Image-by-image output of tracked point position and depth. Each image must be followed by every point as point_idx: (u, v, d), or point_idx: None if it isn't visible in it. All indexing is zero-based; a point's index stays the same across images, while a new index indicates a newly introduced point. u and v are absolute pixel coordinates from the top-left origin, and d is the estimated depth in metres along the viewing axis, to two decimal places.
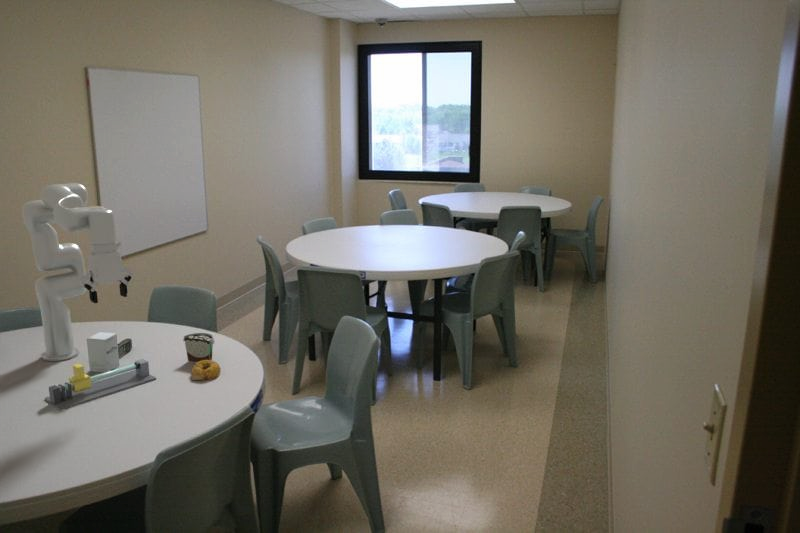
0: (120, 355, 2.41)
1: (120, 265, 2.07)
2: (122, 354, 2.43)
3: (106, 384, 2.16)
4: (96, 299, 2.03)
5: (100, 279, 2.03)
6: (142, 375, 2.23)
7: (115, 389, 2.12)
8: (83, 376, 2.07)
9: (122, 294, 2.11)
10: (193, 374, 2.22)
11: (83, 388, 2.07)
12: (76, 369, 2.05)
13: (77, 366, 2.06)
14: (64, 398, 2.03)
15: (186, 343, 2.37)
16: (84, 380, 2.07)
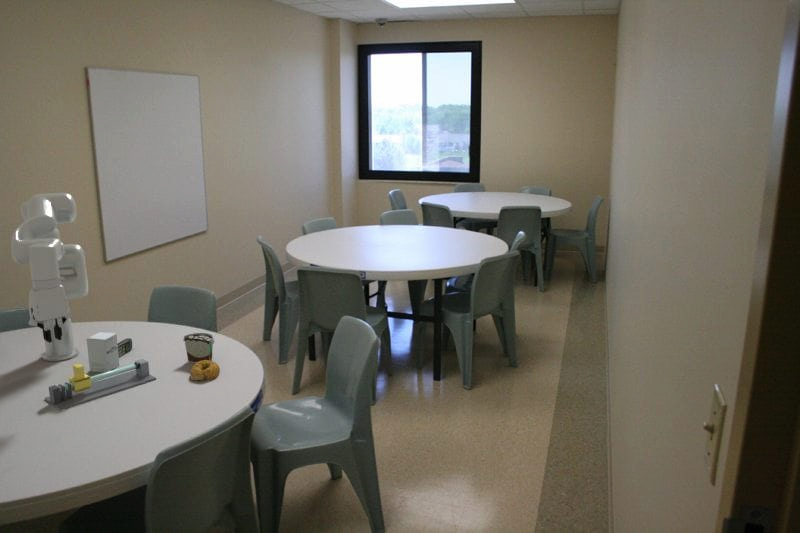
0: (119, 355, 2.41)
1: (64, 301, 1.98)
2: (121, 354, 2.43)
3: (106, 384, 2.16)
4: (50, 338, 1.97)
5: (41, 316, 1.93)
6: (142, 375, 2.23)
7: (115, 389, 2.12)
8: (83, 376, 2.07)
9: (56, 337, 2.00)
10: (192, 374, 2.22)
11: (83, 388, 2.07)
12: (76, 369, 2.05)
13: (77, 366, 2.06)
14: (64, 398, 2.03)
15: (186, 343, 2.37)
16: (84, 380, 2.07)
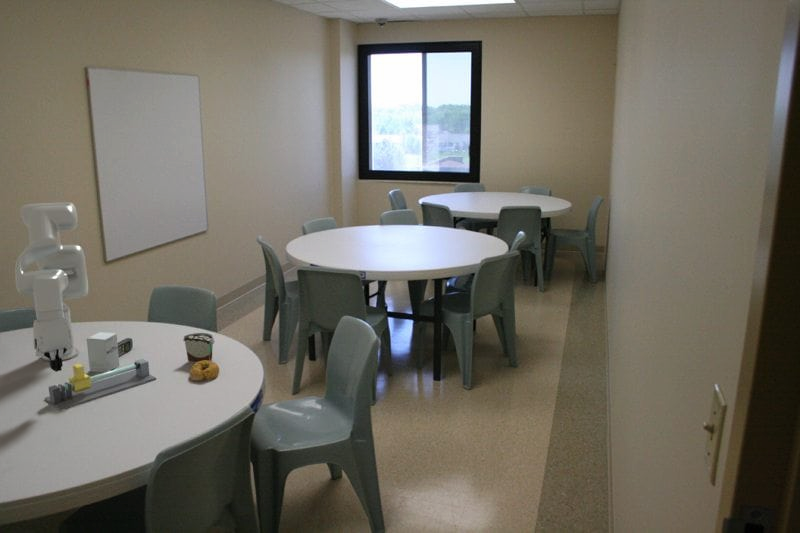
0: None
1: (67, 331, 2.00)
2: (120, 354, 2.43)
3: (106, 384, 2.16)
4: (57, 367, 1.99)
5: (45, 347, 1.95)
6: (142, 375, 2.23)
7: (115, 389, 2.12)
8: (83, 376, 2.07)
9: None
10: (192, 375, 2.21)
11: (83, 388, 2.07)
12: (76, 369, 2.05)
13: (77, 366, 2.06)
14: (64, 398, 2.03)
15: (186, 343, 2.37)
16: (84, 380, 2.07)
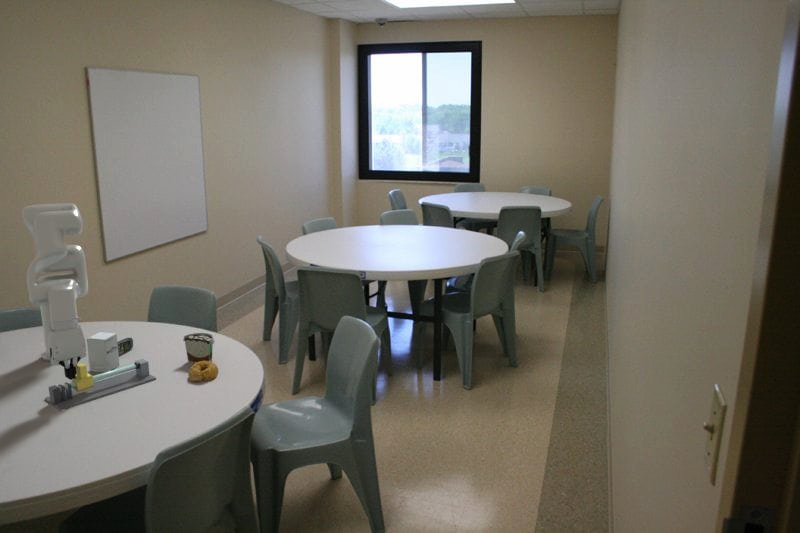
0: None
1: (81, 340, 2.04)
2: (119, 353, 2.44)
3: (106, 384, 2.16)
4: (71, 375, 2.04)
5: (60, 356, 2.00)
6: (142, 375, 2.23)
7: (115, 389, 2.12)
8: (86, 375, 2.07)
9: None
10: (191, 375, 2.21)
11: (86, 387, 2.08)
12: (79, 368, 2.06)
13: (80, 365, 2.07)
14: (64, 398, 2.03)
15: (186, 343, 2.37)
16: (87, 379, 2.08)
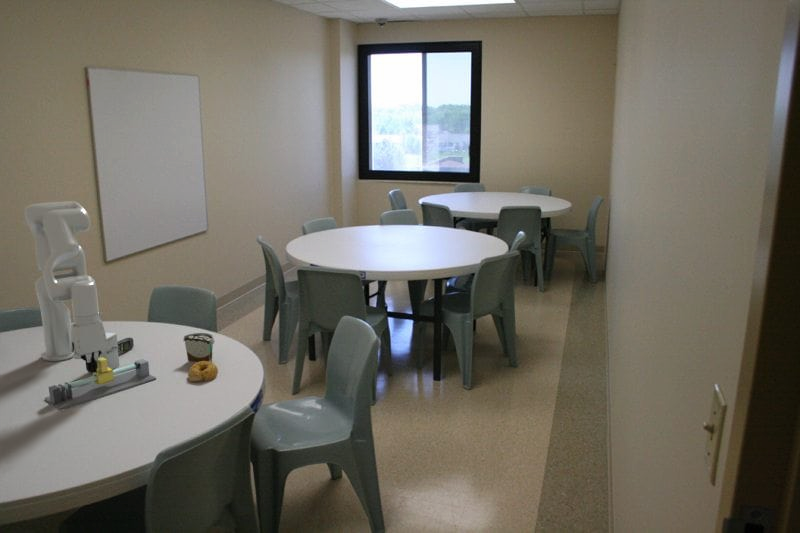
0: None
1: (102, 335, 2.09)
2: (118, 353, 2.44)
3: (106, 384, 2.16)
4: (92, 369, 2.09)
5: (82, 350, 2.05)
6: (142, 375, 2.23)
7: (115, 389, 2.12)
8: (106, 369, 2.13)
9: None
10: (190, 375, 2.21)
11: (106, 381, 2.13)
12: (100, 362, 2.11)
13: (101, 359, 2.12)
14: (64, 398, 2.03)
15: (186, 343, 2.37)
16: (107, 373, 2.13)
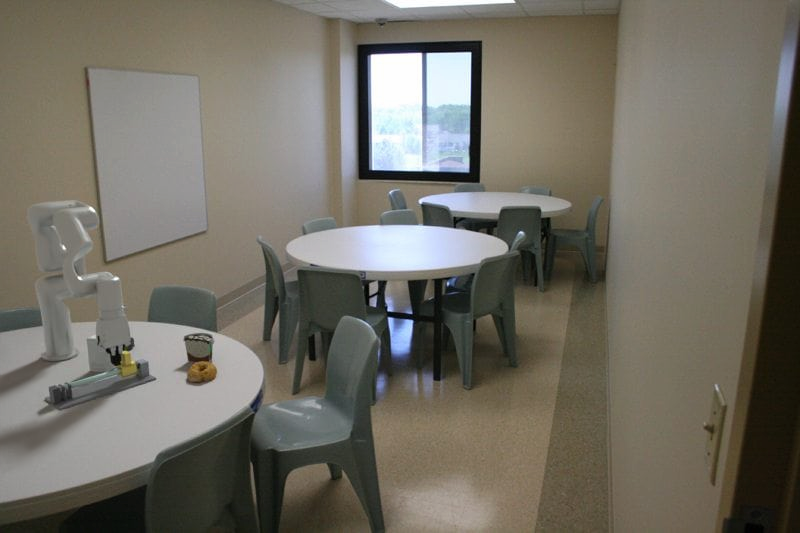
0: None
1: (126, 329, 2.15)
2: None
3: (106, 384, 2.16)
4: (116, 362, 2.15)
5: (107, 343, 2.11)
6: (142, 375, 2.23)
7: (115, 389, 2.12)
8: (130, 362, 2.19)
9: None
10: (190, 376, 2.20)
11: (130, 374, 2.19)
12: (123, 355, 2.17)
13: (124, 353, 2.18)
14: (64, 398, 2.03)
15: (186, 343, 2.37)
16: (131, 366, 2.19)
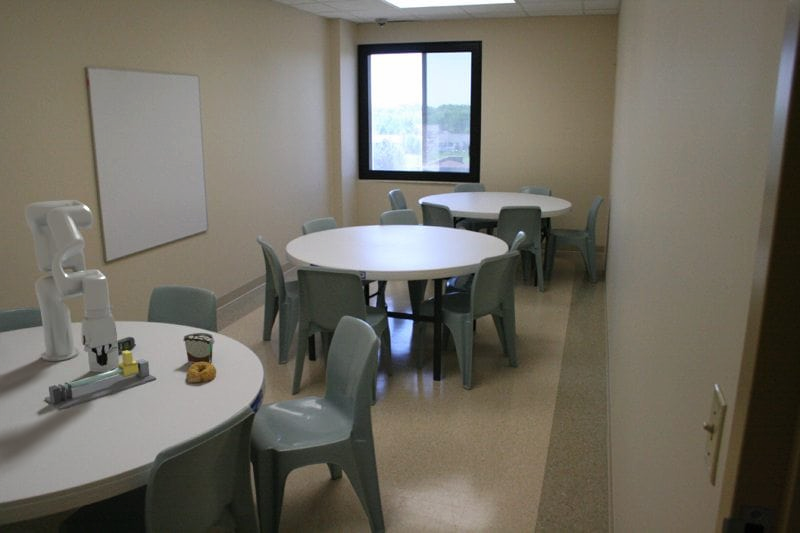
0: None
1: (113, 328, 2.12)
2: None
3: (106, 384, 2.16)
4: (103, 362, 2.12)
5: (93, 343, 2.08)
6: (142, 375, 2.23)
7: (115, 389, 2.12)
8: (131, 362, 2.19)
9: None
10: (189, 376, 2.20)
11: (131, 373, 2.19)
12: (125, 355, 2.18)
13: (126, 352, 2.18)
14: (64, 398, 2.03)
15: (186, 343, 2.37)
16: (132, 366, 2.19)
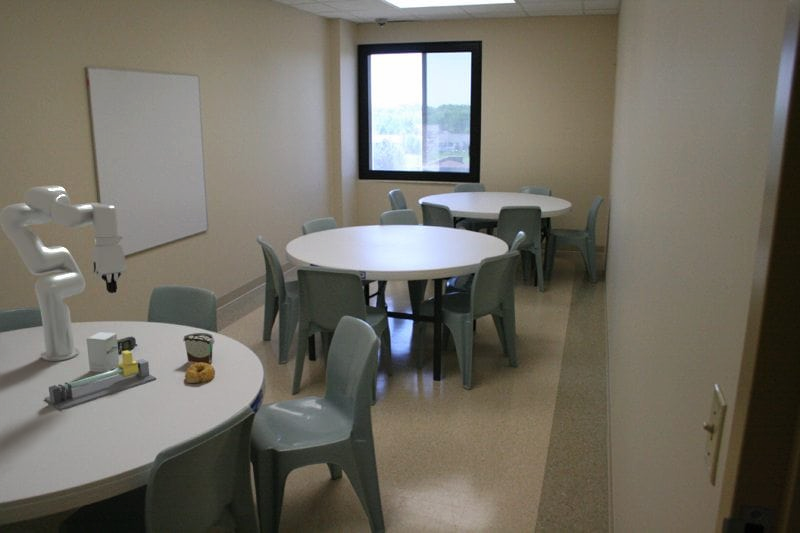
0: None
1: (122, 257, 2.22)
2: None
3: (106, 384, 2.16)
4: (112, 289, 2.22)
5: (103, 270, 2.18)
6: (142, 375, 2.23)
7: (115, 389, 2.12)
8: (131, 362, 2.19)
9: None
10: (187, 377, 2.19)
11: (131, 373, 2.19)
12: (125, 355, 2.18)
13: (126, 352, 2.18)
14: (64, 398, 2.03)
15: (186, 343, 2.37)
16: (132, 366, 2.19)
